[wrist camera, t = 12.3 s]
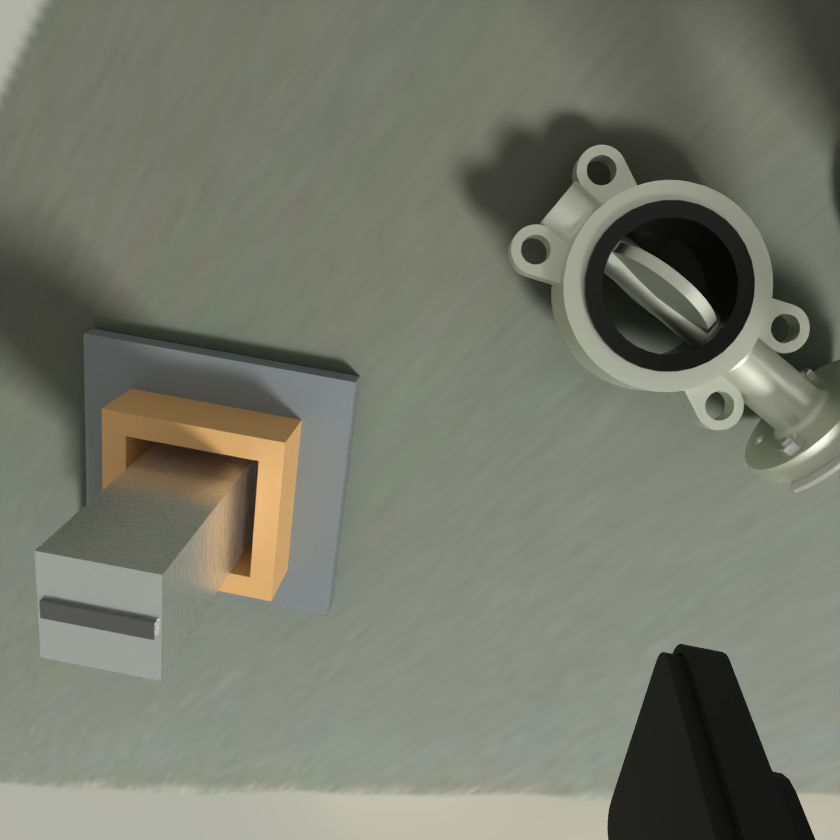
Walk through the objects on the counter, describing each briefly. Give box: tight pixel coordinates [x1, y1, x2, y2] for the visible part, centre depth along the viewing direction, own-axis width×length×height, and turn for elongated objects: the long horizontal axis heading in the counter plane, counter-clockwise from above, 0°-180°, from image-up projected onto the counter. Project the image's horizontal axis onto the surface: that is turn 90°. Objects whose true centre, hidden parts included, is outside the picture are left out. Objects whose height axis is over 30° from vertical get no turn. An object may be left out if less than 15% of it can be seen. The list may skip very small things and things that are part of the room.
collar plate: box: [83, 328, 360, 616], centre depth 40 cm, size 14×14×4 cm
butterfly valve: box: [508, 145, 840, 493], centre depth 26 cm, size 9×20×17 cm
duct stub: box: [35, 442, 259, 681], centre depth 35 cm, size 5×5×12 cm
